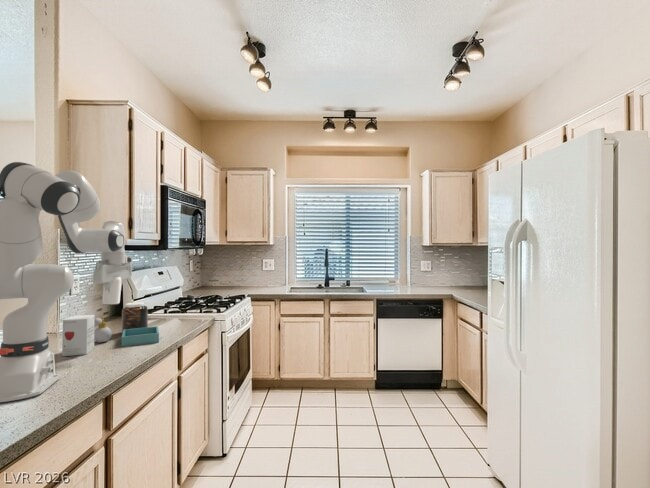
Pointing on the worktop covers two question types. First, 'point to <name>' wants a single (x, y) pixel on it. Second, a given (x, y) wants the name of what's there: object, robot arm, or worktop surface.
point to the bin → (140, 336)
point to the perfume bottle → (101, 331)
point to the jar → (134, 316)
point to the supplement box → (78, 335)
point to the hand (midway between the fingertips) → (113, 291)
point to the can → (112, 292)
